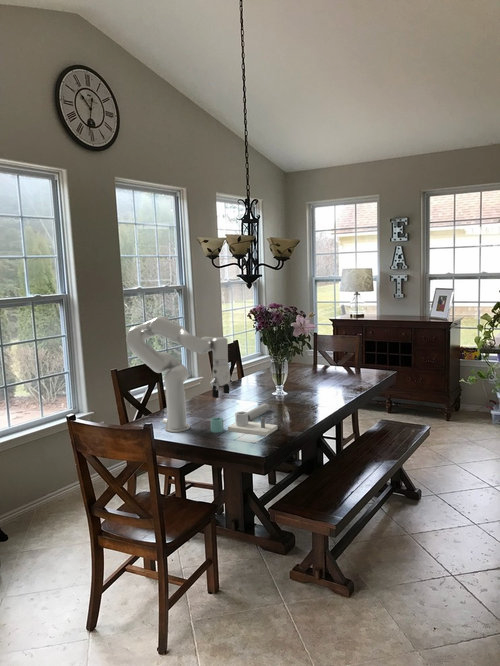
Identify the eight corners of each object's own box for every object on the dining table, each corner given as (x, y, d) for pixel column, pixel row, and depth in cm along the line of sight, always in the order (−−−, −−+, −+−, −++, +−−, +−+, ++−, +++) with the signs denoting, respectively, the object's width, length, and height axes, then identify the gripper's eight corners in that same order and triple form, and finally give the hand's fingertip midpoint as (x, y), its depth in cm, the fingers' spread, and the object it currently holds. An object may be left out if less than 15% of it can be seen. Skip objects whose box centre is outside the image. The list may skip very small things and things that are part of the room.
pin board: (227, 430, 274) (227, 417, 273) (239, 424, 284) (238, 411, 283) (266, 436, 263) (266, 422, 262) (277, 429, 274) (276, 415, 273)
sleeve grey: (233, 425, 275) (233, 414, 274) (239, 422, 280) (239, 411, 279) (244, 427, 272) (243, 415, 271) (250, 423, 277) (249, 412, 277)
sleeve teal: (209, 431, 273) (208, 420, 272) (215, 428, 278) (214, 416, 277) (219, 433, 270) (218, 421, 269) (225, 429, 275) (224, 418, 275)
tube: (261, 403, 310) (240, 414, 288) (269, 401, 307) (248, 412, 286) (264, 412, 310) (243, 423, 288) (272, 410, 307) (251, 421, 285)
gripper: (217, 365, 262) (217, 400, 264) (236, 359, 277) (236, 392, 279) (204, 364, 266) (205, 398, 268) (223, 358, 281) (224, 391, 283)
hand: (221, 395), depth 274 cm, fingers open, 9 cm apart
